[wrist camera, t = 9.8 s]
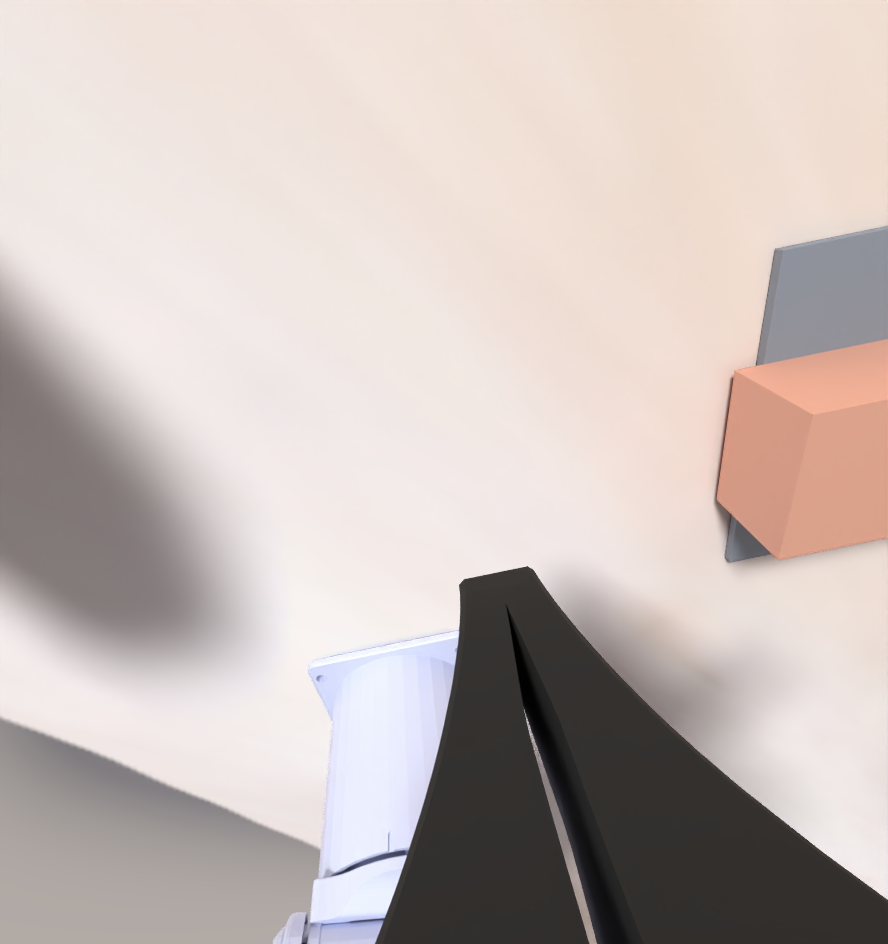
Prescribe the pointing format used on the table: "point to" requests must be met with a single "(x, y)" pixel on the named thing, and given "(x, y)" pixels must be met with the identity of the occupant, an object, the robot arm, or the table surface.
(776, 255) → the mat
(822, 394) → the block
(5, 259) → the table surface
